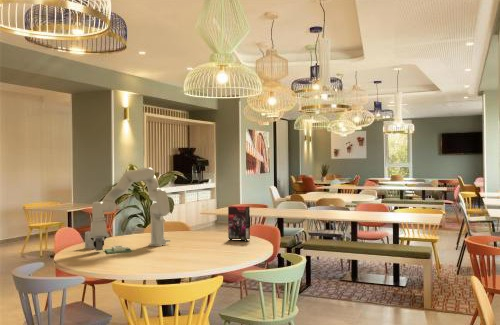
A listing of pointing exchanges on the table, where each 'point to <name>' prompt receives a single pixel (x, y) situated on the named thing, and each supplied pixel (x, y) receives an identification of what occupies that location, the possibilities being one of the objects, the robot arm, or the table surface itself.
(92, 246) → the ink cartridge box
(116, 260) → the table surface
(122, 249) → the circuit board
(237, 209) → the graphics card box
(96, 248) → the plug
